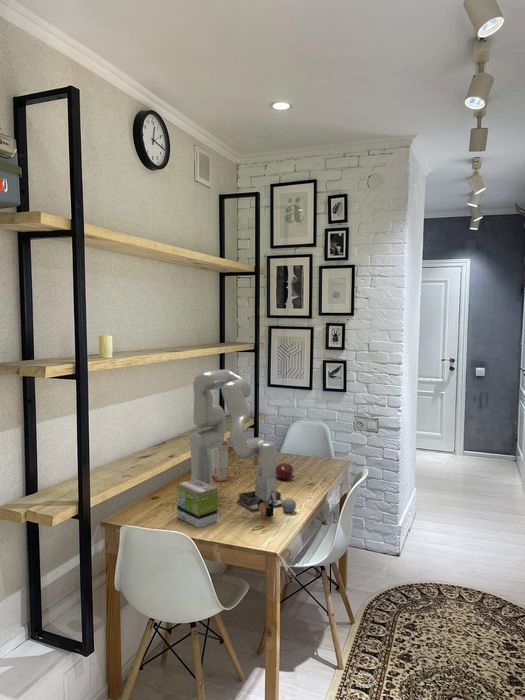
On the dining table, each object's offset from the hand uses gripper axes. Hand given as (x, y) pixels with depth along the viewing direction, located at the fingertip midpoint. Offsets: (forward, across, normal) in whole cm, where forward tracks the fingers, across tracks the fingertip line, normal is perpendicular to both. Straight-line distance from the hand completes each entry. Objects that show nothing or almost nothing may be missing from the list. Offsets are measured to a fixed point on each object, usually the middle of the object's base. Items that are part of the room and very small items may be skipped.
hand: (265, 513), depth 220 cm
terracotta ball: (-2, 0, 0) cm, 2 cm away
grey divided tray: (+2, -15, +7) cm, 16 cm away
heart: (+2, -42, +36) cm, 55 cm away
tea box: (+2, -12, -26) cm, 28 cm away
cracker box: (+3, -58, +7) cm, 59 cm away
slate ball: (-1, -1, +12) cm, 12 cm away
